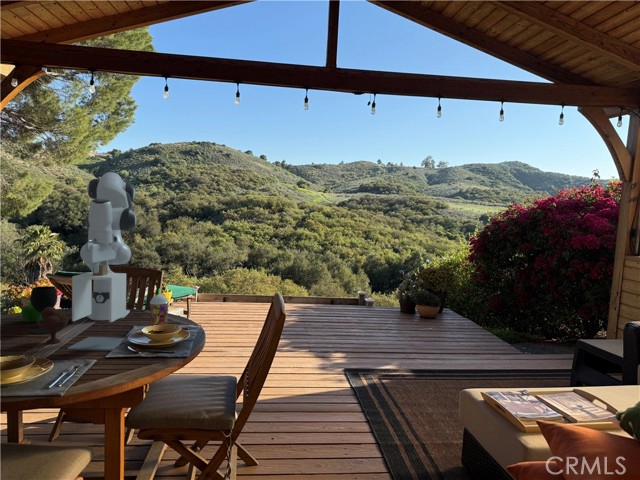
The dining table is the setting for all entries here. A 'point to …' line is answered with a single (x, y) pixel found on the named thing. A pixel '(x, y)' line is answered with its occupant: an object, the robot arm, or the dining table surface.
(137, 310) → the dining table surface
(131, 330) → the dining table surface
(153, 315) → the smoothie
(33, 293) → the wine glass
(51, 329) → the ice cream bowl
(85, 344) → the mat
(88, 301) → the cover
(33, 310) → the bell pepper
